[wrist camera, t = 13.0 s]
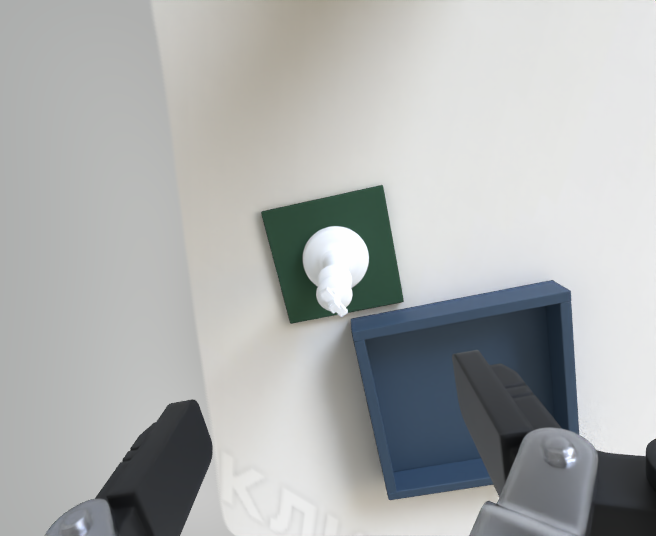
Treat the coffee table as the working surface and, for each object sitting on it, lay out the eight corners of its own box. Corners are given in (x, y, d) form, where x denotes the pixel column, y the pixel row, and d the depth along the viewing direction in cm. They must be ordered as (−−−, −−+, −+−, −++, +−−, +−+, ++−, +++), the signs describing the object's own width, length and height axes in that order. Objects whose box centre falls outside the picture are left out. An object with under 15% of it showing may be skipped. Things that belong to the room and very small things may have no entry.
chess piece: (331, 302, 31) (328, 369, 21) (289, 254, 30) (265, 302, 20) (382, 262, 30) (402, 313, 20) (339, 212, 29) (339, 240, 19)
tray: (350, 318, 31) (351, 332, 29) (552, 280, 30) (570, 290, 28) (385, 477, 35) (388, 501, 33) (564, 449, 34) (581, 471, 32)
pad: (261, 211, 29) (260, 212, 29) (382, 184, 28) (382, 185, 28) (290, 321, 32) (290, 324, 31) (403, 300, 31) (403, 302, 30)
